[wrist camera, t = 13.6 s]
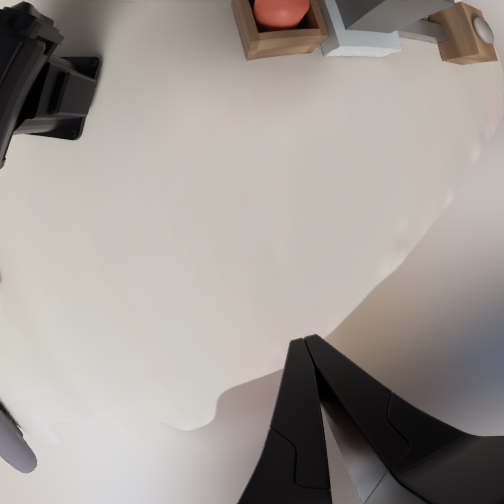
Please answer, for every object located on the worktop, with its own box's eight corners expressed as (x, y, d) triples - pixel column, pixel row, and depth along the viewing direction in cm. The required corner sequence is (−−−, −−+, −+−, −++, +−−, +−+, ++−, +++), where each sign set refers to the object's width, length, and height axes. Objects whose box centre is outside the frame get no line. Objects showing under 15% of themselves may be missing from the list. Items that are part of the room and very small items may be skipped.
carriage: (324, 57, 15) (399, 7, 6) (303, -7, 13) (353, -79, 4) (382, 58, 15) (472, 28, 6) (361, -4, 13) (430, -55, 4)
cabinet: (246, 60, 15) (251, 41, 12) (231, 5, 13) (232, -21, 10) (310, 52, 15) (329, 35, 12) (293, -1, 13) (307, -26, 10)
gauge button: (255, 43, 14) (262, 21, 11) (246, 10, 13) (250, -17, 10) (298, 39, 14) (315, 18, 11) (288, 6, 13) (301, -20, 9)
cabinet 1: (442, 60, 15) (484, 53, 10) (427, 14, 13) (465, -1, 8) (461, 64, 15) (502, 60, 10) (448, 20, 13) (485, 9, 8)
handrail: (303, 33, 15) (309, 25, 13) (298, 15, 14) (303, 7, 13) (437, 44, 14) (448, 41, 13) (432, 29, 14) (443, 25, 12)
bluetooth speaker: (-23, 384, 28) (-41, 415, 18) (5, 401, 29) (-12, 437, 20) (16, 437, 36) (5, 464, 27) (43, 451, 37) (33, 481, 28)
